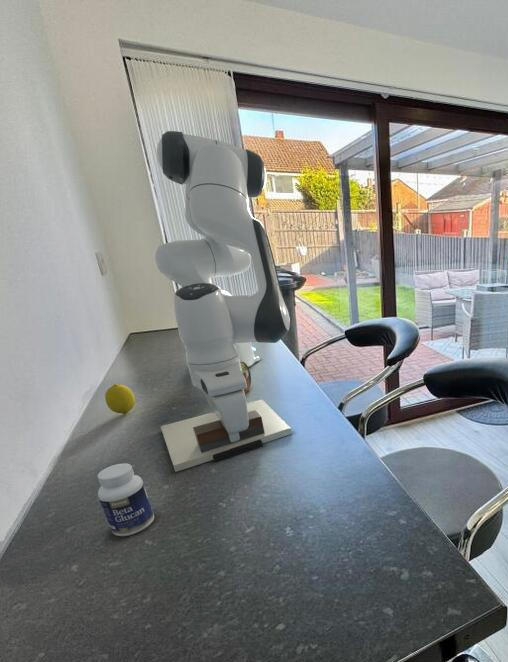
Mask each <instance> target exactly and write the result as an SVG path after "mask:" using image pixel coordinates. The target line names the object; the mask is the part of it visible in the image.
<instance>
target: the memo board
mask: <svg viewBox="0 0 508 662" xmlns="http://www.w3.org/2000/svg"><path fill="white" fill-rule="evenodd" d="M246 403H247V410H248V412H250V411H254V410H256V411H257V412H258V413H259V414H260V415H261V417H262V422H263V427H264V432H265V433H264V434H260V435H257V436H254V437H251V438H248V439H245V440H241V441H238V442H235V443H232V444H229V445H225V446H222V447H219V448H216V449H213V450H209V451H206V452H203V453H201V451H200V449H199V447H198V444H197V440H196V437H195V433H194V430H193V427H196V426H200V425H203V424H207V423H211V422H214V421H218V420H219V418H218V417H217V415H216V414H215V412H214V411H213V412H208V413H205V414H202V415H198V416H194V417H190V418H186V419H182V420H179V421H175V422H171V423H168V424H164V425H161V426H160V430H161V433H162V435H163V440H164V442H165V444H166V449H167V451H168V454H169V458H170V461H171V463H172V467H173V469H174V472H175V473H177V472H180V471H183V470H187V469H190V468H192V467H195V466H198V465H202V464H204V463H207V462H211V461H214V459H213V455H214V454H217V453H220V452H223V451H227V450H229V449H232V448H235V447H238V446H241V445H244V444H247V443H251V442H254V441H257V440H261V441H262V444H266V443H268V442H272V441H274V440H275V441H276V440H278V439H280V438H283V437H287V436H289V435H292V428H291V427H290V426H289V424H288V423H286V421H284V420H283V418H281V416H280V415H279V414H277V412H275V411H274V409H272V408H271V406H269V405H268V404H267V403H266V401H264V399H263V398H262V399H258V400H254V401H250V402H246Z"/></svg>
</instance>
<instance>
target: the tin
mask: <svg viewBox="0 0 508 662" xmlns="http://www.w3.org/2000/svg"><path fill="white" fill-rule="evenodd" d="M240 364H241V368H242V373H243V375H244V377H245V380H246V384H247V388H245V389H243V390H244V392H245V394H246V393H247V392H248V391H249V390H250V388H251V384H252V375H251V371H250V368H249V367H248V366H247V365H246V363H244V362H240Z"/></svg>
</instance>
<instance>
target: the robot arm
mask: <svg viewBox="0 0 508 662" xmlns="http://www.w3.org/2000/svg"><path fill="white" fill-rule="evenodd" d="M156 156H157V161H158V165H159V167H160V169H161V171H162V174H163V175H164V176H165V177H166V178H167V179H168V180H170V181H172V182H174V183H176V184H179V185H180V186H181V185H182V186H183V185H185V197H184V198H185V200H184V205H185V206H184V211H185V212H184V217H185V220H186V223H187V225H188V226H189V227H190V228H191V229H192V230H193V231H194V232H196V233H197V234H200V235H201V236H203V237H204V238H202V239H180V240H174V241H169V242H165V243H162V244H159V246H158V247H157V249H156V250H155V255H154V261H155V264H156V267H157V269H158V270H159V272H160V273H161V274H162V275H163V277H165V278H167V279H168V280H171V281H172V282H174V283H176V284H178V285H179V286H180V288H179V289H177V290H176V291H175V292H174V294H173V295H174V296H173V307H174V316H175V322H176V325H177V331H178V334H179V338H180V341H181V342H182V344H183V346H184V348H185V353H186V354H185V361H186V366H187V369H188V373H189V377H190V381H191V384H192V386H193V387H195V388H198V389H200V390H201V392H202V393H204V396H205V400H206V401H207V403H208V405H209V406H210V407H211V409H212V411H213V412H215V414H216V415H217V417H218V418H219V420H220V421H221V423H222V425H223V426H224V428H225V429H226V431H227V433H228V437H229V440H230V441H231V442H235V441H238V440H239V439H240V436H239V432H240V431H244V430H246V429H248V425H249V419H248V410H247V403H248V402H247V398H246V393H245V392H244V390H243V389H245V388H247V384H246V380H245V377H244V375H243V373H242V368H241V364H240V362H244V363H246V365H247V366H248V368H249V367H251V366H253V365H254V364H255V363H257V362H259V361H261V358H260V356H258V355H255V353H254V351H256V348H255V347H253V346H252V343H265V344H277V343H278V342H279V341H280V340H282V339H283V338H284V337H285V336H286V335H287V334H288V333H289V331H290V326H291V319H290V312H289V310H288V306H287V304H286V302H285V299H284V296H283V292H282V288H281V283H280V278H279V275H278V271H277V266H276V263H275V258H274V253H273V250H272V247H271V246H272V245H271V243H270V239H269V236H268V232H267V231H266V229H265V227H264V225H263V223H262V222H261V221H260V220H259V219H256V218H254V217H253V215H252V212H251V211H250V207H249V199H252V198H257V197H259V196H260V195H262V193H263V191H264V189H265V187H266V183H267V172H266V171H267V170H266V167H265V162H264V160H263V159H262V157H261V156H260V155H259V154H258V153H256V152H254V151H252V150H250V149H248V148H246V149H243V148H241V147H239V146H236V145H234V144H231V143H229V142H225V141H222V140H219V139H212V138H208V137H204V136H200V135H192V134H186V133H183V131H178V130H177V131H175V130H166V132H164V133H163V134H161V138H160V140H159V141H158V143H157V147H156ZM251 265H252V267H253V270H254V275H255V280H256V284H257V287H258V290H257V292H256V293H254V294H240V295H239V294H238V295H232V294H231V293H230V292H228V291H226V290H224V289H221V287H220V286H219V285H217V284H214V283H213V280H212V279H214V278H215V279H217V278H225V277H233V276H236V275H237V276H238V275H240V274H243V273H246V272H247V271H249V269H250V267H251Z"/></svg>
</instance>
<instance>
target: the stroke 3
mask: <svg viewBox="0 0 508 662" xmlns="http://www.w3.org/2000/svg"><path fill="white" fill-rule="evenodd" d="M263 444H264V443H263ZM263 444H262V441H261V440H257V441H254V442H251V443H247V444H245V445H246V447H247V451H246V452H249V451H252V450H255V449H258V448H261V447H263V446H264V445H263Z"/></svg>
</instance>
